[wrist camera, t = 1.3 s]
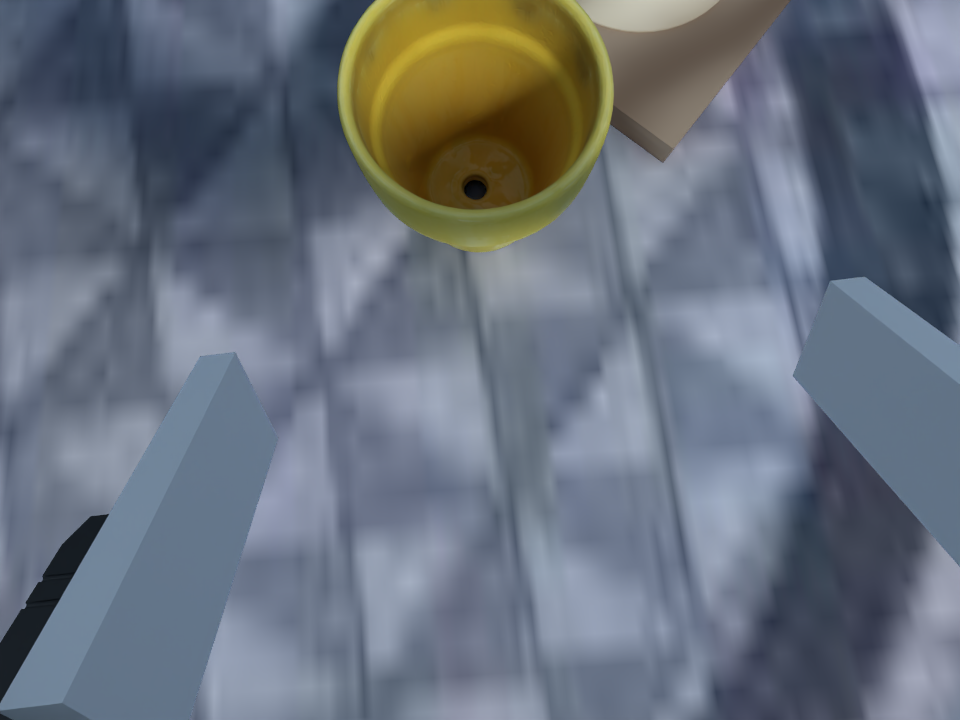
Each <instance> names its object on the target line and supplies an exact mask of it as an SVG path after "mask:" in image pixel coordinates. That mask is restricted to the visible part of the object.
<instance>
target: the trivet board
mask: <svg viewBox="0 0 960 720" xmlns="http://www.w3.org/2000/svg"><path fill="white" fill-rule="evenodd" d="M576 1H577V2H578V4H579V5H580V6H581V7H582V8H583V9H584V10H585V12H586V13H587V14H588V15H589V17H590V18H591V20H592V21H593V23H594V24H595V26H596V28H597V30H598V31H599V33H600V35H601V37H602V39H603V42H604V44H605V47H606V49H607V52H608V56H609V59H610V63H611V67H612V74H613V83H614V100H613V111H612V116H611V121H610V124H611V125H612V126H614V127H615V128H616V129H618V130H619V131H620V132H622V133H623V134H625V135H626V136H627V137H629V138H630V139H631V140H633V141H634V142H636V143H637V144H638V145H640V146H641V147H642V148H644V149H645V150H646V151H648V152H649V153H651V154H652V155H653V156H655V157H656V158H657V159H659V160H660V161H662V162H664V161H665V160H666V158H667V157H668V156H669V155H670V153H671V152H672V151H673V150H674V148H675V147H676V146H677V144H678V143H679V142H680V141H681V139H682V138H683V137H684V135H685V134H686V133H687V132H688V130H689V129H690V128H691V127H692V125H693V124H694V123H695V121H696V120H697V119H698V118H699V116H700V115H701V114H702V113H703V111H704V110H705V109H706V107H707V106H708V105H709V104H710V102H711V101H712V100H713V99H714V97H715V96H716V95H717V93H718V92H719V91H720V90H721V88H722V87H723V86H724V85H725V83H726V82H727V81H728V79H729V78H730V77H731V76H732V74H733V73H734V72H735V70H736V69H737V68H738V67H739V65H740V64H741V63H742V62H743V60H744V59H745V58H746V56H747V55H748V54H749V53H750V51H751V50H752V49H753V48H754V46H755V45H756V44H757V42H758V41H759V40H760V39H761V37H762V36H763V35H764V34H765V32H766V31H767V30H768V28H769V27H770V26H771V25H772V23H773V22H774V21H775V19H776V18H777V17H778V16H779V14H780V13H781V12H782V11H783V9H784V8H785V7H786V5H787V4H788V3H789V2H790V0H576Z"/></svg>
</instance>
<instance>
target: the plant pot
mask: <svg viewBox="0 0 960 720" xmlns="http://www.w3.org/2000/svg"><path fill="white" fill-rule="evenodd" d="M613 100H614V83H613V74H612V67H611V63H610V59H609V56H608V52H607V49H606V47H605V44H604V42H603V39H602V37H601V35H600V33H599V31H598V30H597V28H596V26H595V24H594V23H593V21H592V20H591V18H590V17H589V15H588V14H587V13H586V12H585V10H584V9H583V8H582V7H581V6H580V5H579V4H578V2H577V1H576V0H375V1H374V2H373V3H372V4H371V5H370V6H369V7H368V8H367V10H366V11H365V12H364V14H363V15H362V16H361V18H360V19H359V21H358V22H357V24H356V25H355V27H354V28H353V30H352V32H351V34H350V36H349V38H348V40H347V43H346V45H345V48H344V51H343V54H342V58H341V62H340V67H339V73H338V82H337V101H338V110H339V116H340V121H341V125H342V128H343V132H344V135H345V137H346V140H347V142H348V145H349V147H350V149H351V151H352V153H353V155H354V157H355V159H356V161H357V163H358V165H359V167H360V169H361V171H362V172H363V174H364V176H365V178H366V179H367V181H368V182H369V184H370V185H371V187H372V189H373V190H374V192H375V193H376V194H377V196H378V197H379V199H380V200H381V201H382V203H383V204H384V205H385V206H386V207H387V208H388V210H389V211H390V212H391V213H392V214H394V215H395V216H396V217H397V218H398V219H399V220H401V221H402V222H403V223H404V224H406V225H407V226H409V227H410V228H412V229H413V230H415V231H417V232H419V233H421V234H423V235H425V236H427V237H429V238H431V239H434V240H437V241H440V242H443V243H447V244H449V245H451V246H453V247H455V248H458V249H461V250H464V251H470V252H488V251H494V250H498V249H500V248H503V247H505V246H507V245H509V244H511V243H513V242H514V241H517V240H520V239H523V238H525V237H527V236H529V235H531V234H533V233H535V232H537V231H539V230H541V229H542V228H544V227H545V226H547V225H548V224H550V223H551V222H552V221H554V220H555V219H556V218H557V217H558V216H559V215H560V214H561V213H562V212H563V211H564V210H565V209H566V208H567V207H568V206H569V205H570V204H571V203H572V201H573V200H574V199H575V197H576V196H577V194H578V193H579V192H580V190H581V188H582V187H583V185H584V183H585V182H586V180H587V178H588V176H589V174H590V172H591V170H592V168H593V166H594V164H595V162H596V160H597V158H598V156H599V153H600V151H601V148H602V146H603V143H604V141H605V138H606V135H607V132H608V129H609V125H610V121H611V116H612V111H613ZM472 180H478V181H481V182H482V183H483V184H484V185H485V186H486V190H487V192H486V194H485V195H484V197H482V198H481V199H476V200H474V199H471V198H469V197H467V196H466V195H465V193H464V187H465V185H466V184H467V183H468V182H469V181H472Z"/></svg>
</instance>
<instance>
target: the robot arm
mask: <svg viewBox="0 0 960 720" xmlns="http://www.w3.org/2000/svg"><path fill="white" fill-rule="evenodd" d="M793 377H794V378H795V379H796V380H797V381H798V382H799V384H800V385H801V386H802V387H803V388H804V389H805V390H806V392H807V393H808V394H809V395H810V396H811V397H812V398H813V400H814V401H815V402H816V403H817V404H818V405H819V406H820V408H821V409H822V410H823V411H824V412H825V413H826V414H827V416H828V417H829V418H830V419H831V420H832V421H833V422H834V424H835V425H836V426H837V427H838V428H839V429H840V430H841V432H842V433H843V434H844V435H845V436H846V437H847V438H848V440H849V441H850V442H851V443H852V444H853V445H854V446H855V448H856V449H857V450H858V451H859V452H860V453H861V454H862V456H863V457H864V458H865V459H866V460H867V461H868V462H869V464H870V465H871V466H872V467H873V468H874V469H875V470H876V472H877V473H878V474H879V475H880V476H881V477H882V478H883V480H884V481H885V482H886V483H887V484H888V485H889V486H890V488H891V489H892V490H893V491H894V492H895V493H896V494H897V496H898V497H899V498H900V499H901V500H902V501H903V502H904V504H905V505H906V506H907V507H908V508H909V509H910V510H911V512H912V513H913V514H914V515H915V516H916V517H917V518H918V520H919V521H920V522H921V523H922V524H923V525H924V526H925V528H926V529H927V530H928V531H929V532H930V533H931V534H932V536H933V537H934V538H935V539H936V540H937V541H938V542H939V544H940V545H941V546H942V547H943V548H944V549H945V550H946V552H947V553H948V554H949V555H950V556H951V557H952V558H953V560H954V561H955V562H956V563H957V564H958V565H959V566H960V346H959V345H958V344H956V343H955V342H954V341H952V340H951V339H950V338H948V337H947V336H945V335H944V334H943V333H941V332H940V331H939V330H937V329H936V328H934V327H933V326H932V325H930V324H929V323H928V322H926V321H925V320H923V319H922V318H921V317H919V316H918V315H917V314H915V313H914V312H912V311H911V310H910V309H908V308H907V307H906V306H904V305H903V304H901V303H900V302H899V301H897V300H896V299H895V298H893V297H892V296H890V295H889V294H888V293H886V292H885V291H884V290H882V289H881V288H879V287H878V286H877V285H875V284H874V283H872V282H871V281H870V280H868V279H867V278H866V277H859V278H851V279H843V280H834V281H830V283H829V286H828V288H827V291H826V293H825V296H824V298H823V301H822V303H821V306H820V308H819V311H818V313H817V316H816V318H815V321H814V323H813V326H812V328H811V331H810V333H809V336H808V338H807V341H806V344H805V346H804V349H803V351H802V354H801V356H800V359H799V361H798V364H797V366H796V369H795V371H794V374H793ZM277 441H278V436H277V434H276V432H275V430H274V428H273V426H272V424H271V422H270V420H269V418H268V416H267V414H266V412H265V410H264V408H263V406H262V404H261V402H260V400H259V398H258V396H257V394H256V392H255V390H254V388H253V386H252V384H251V383H250V381H249V379H248V377H247V375H246V373H245V371H244V369H243V367H242V365H241V363H240V361H239V359H238V357H237V355H236V353H235V352H233V353H224V354H216V355H208V356H200V358H199V360H198V361H197V363H196V365H195V366H194V368H193V370H192V372H191V373H190V375H189V377H188V379H187V380H186V382H185V384H184V386H183V387H182V389H181V391H180V392H179V394H178V396H177V398H176V399H175V401H174V403H173V405H172V406H171V408H170V410H169V412H168V413H167V415H166V417H165V418H164V420H163V422H162V424H161V425H160V427H159V429H158V431H157V432H156V434H155V436H154V437H153V439H152V441H151V443H150V444H149V446H148V448H147V450H146V451H145V453H144V455H143V457H142V458H141V460H140V462H139V463H138V465H137V467H136V469H135V470H134V472H133V474H132V476H131V477H130V479H129V481H128V483H127V484H126V486H125V488H124V489H123V491H122V493H121V495H120V496H119V498H118V500H117V502H116V503H115V505H114V507H113V509H112V510H111V512H110V514H107V515H98V516H91V517H90V518H89V519H88V520H87V521H86V522H84V523H83V524H82V525H81V526H80V527H79V528H78V529H77V530H76V531H75V532H74V533H73V534H72V535H71V536H70V537H69V538H68V539H67V540H66V541H65V542H64V543H63V544H62V546H61V547H60V549H59V550H58V552H57V553H56V555H55V557H54V558H53V560H52V561H51V563H50V565H49V566H48V568H47V569H46V571H45V573H44V574H43V576H42V577H43V581H42V582H38V584H37V585H36V587H35V589H34V590H33V592H32V593H31V595H30V596H29V598H28V600H27V601H26V604H27V606H26V608H25V609H21V611H20V612H19V614H18V616H17V617H16V619H15V620H14V622H13V624H12V625H11V627H10V628H9V630H8V632H7V633H6V635H5V636H4V638H3V639H2V641H1V643H0V720H189V719H190V716H191V713H192V710H193V707H194V704H195V700H196V697H197V694H198V691H199V688H200V685H201V681H202V678H203V675H204V672H205V669H206V666H207V662H208V659H209V656H210V653H211V650H212V647H213V643H214V640H215V637H216V634H217V631H218V628H219V624H220V621H221V618H222V615H223V612H224V609H225V605H226V602H227V599H228V596H229V593H230V590H231V586H232V583H233V580H234V577H235V574H236V570H237V567H238V564H239V561H240V558H241V555H242V551H243V548H244V545H245V542H246V539H247V536H248V532H249V529H250V526H251V523H252V520H253V517H254V513H255V510H256V507H257V504H258V501H259V498H260V494H261V491H262V488H263V485H264V482H265V479H266V475H267V472H268V469H269V466H270V463H271V460H272V456H273V453H274V450H275V447H276V444H277Z"/></svg>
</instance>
